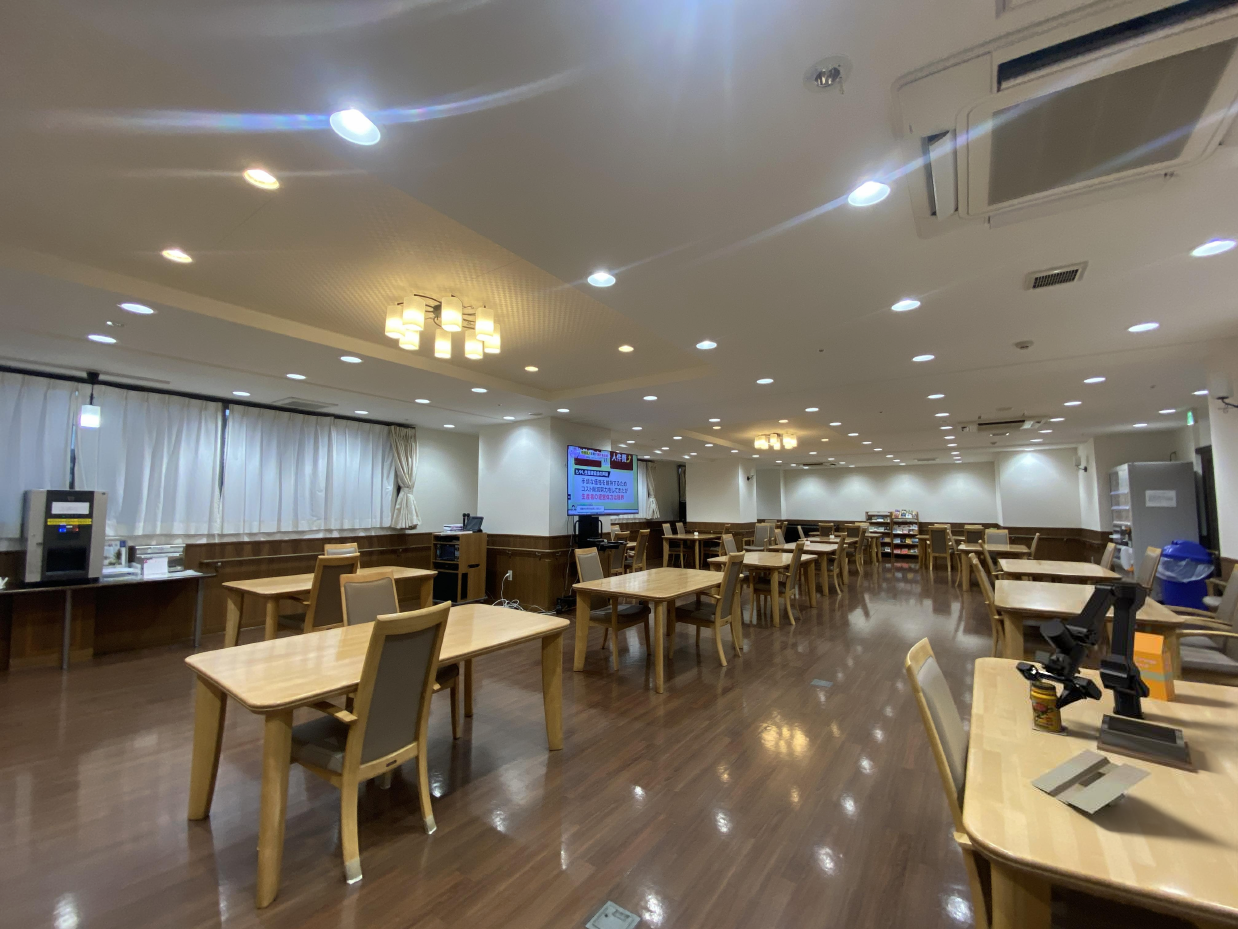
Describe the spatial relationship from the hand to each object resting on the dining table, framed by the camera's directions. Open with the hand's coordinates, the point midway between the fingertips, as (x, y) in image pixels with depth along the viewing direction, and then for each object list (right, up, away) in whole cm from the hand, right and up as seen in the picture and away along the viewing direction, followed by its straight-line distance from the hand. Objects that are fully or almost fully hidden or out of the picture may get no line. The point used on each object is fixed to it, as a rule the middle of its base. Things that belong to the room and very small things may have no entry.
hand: (1043, 703), depth 138 cm
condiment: (+1, -7, 0) cm, 7 cm away
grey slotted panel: (-22, -3, -36) cm, 42 cm away
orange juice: (+57, -9, +25) cm, 63 cm away
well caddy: (+15, -5, -12) cm, 20 cm away
